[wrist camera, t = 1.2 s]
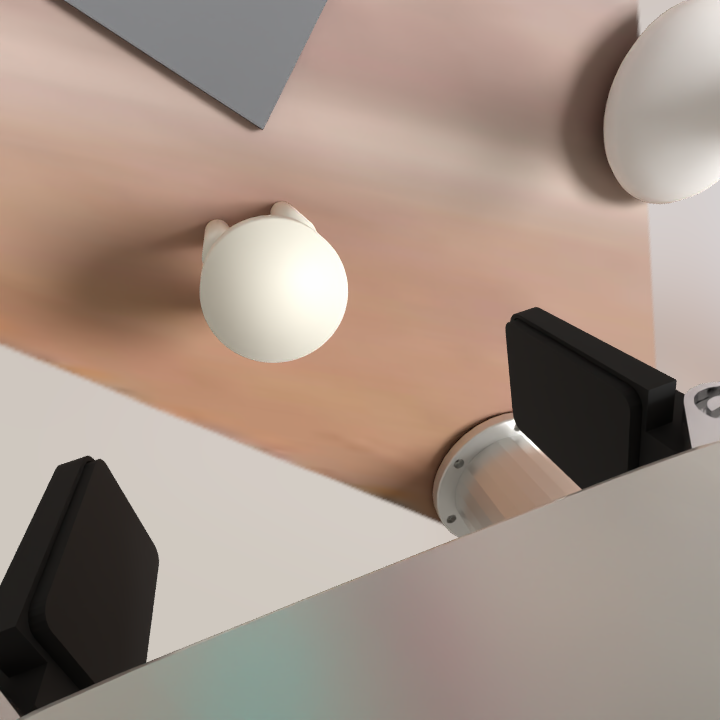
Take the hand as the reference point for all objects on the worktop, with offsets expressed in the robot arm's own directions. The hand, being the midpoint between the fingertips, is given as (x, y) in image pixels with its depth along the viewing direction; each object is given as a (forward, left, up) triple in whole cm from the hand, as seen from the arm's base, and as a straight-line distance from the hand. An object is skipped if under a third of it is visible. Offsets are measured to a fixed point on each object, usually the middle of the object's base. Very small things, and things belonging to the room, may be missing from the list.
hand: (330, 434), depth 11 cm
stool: (0, 0, -20) cm, 20 cm away
